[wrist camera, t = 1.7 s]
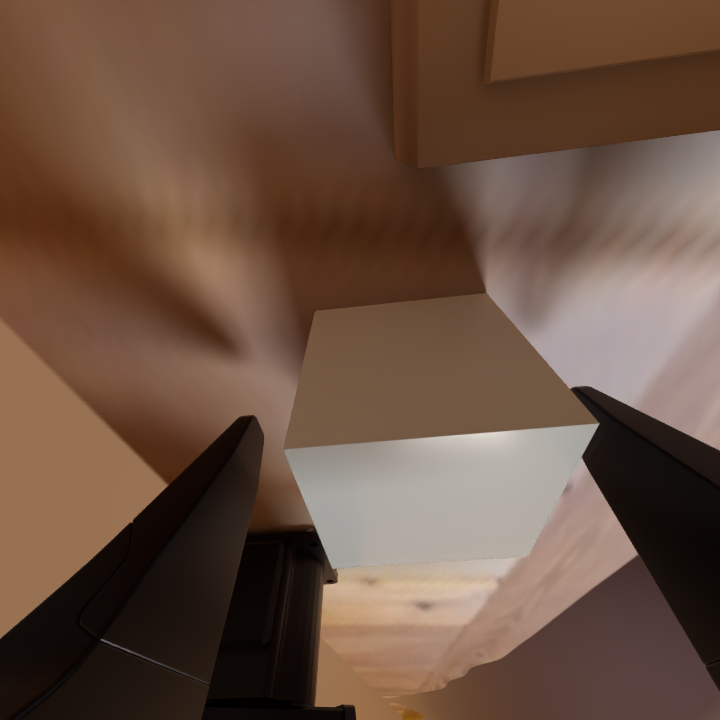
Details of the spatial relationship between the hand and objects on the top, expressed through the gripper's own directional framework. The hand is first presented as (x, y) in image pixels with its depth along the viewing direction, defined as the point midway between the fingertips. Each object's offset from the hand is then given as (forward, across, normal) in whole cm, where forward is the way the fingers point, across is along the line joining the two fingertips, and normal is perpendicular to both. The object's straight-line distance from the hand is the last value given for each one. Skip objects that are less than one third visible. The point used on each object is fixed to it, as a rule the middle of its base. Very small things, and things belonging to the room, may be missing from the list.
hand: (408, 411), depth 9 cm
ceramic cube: (+2, 0, 0) cm, 2 cm away
